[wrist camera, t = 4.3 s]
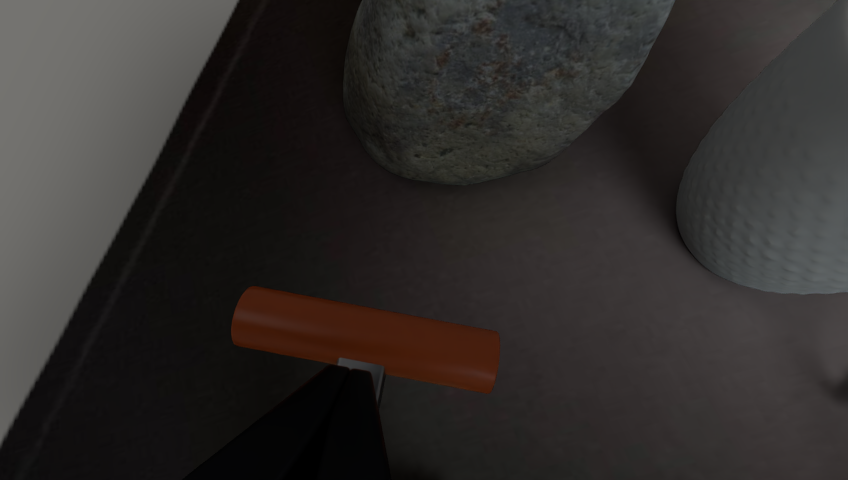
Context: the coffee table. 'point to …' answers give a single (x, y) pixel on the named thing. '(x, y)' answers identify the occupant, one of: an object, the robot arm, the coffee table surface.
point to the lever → (367, 339)
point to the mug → (778, 172)
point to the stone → (488, 79)
